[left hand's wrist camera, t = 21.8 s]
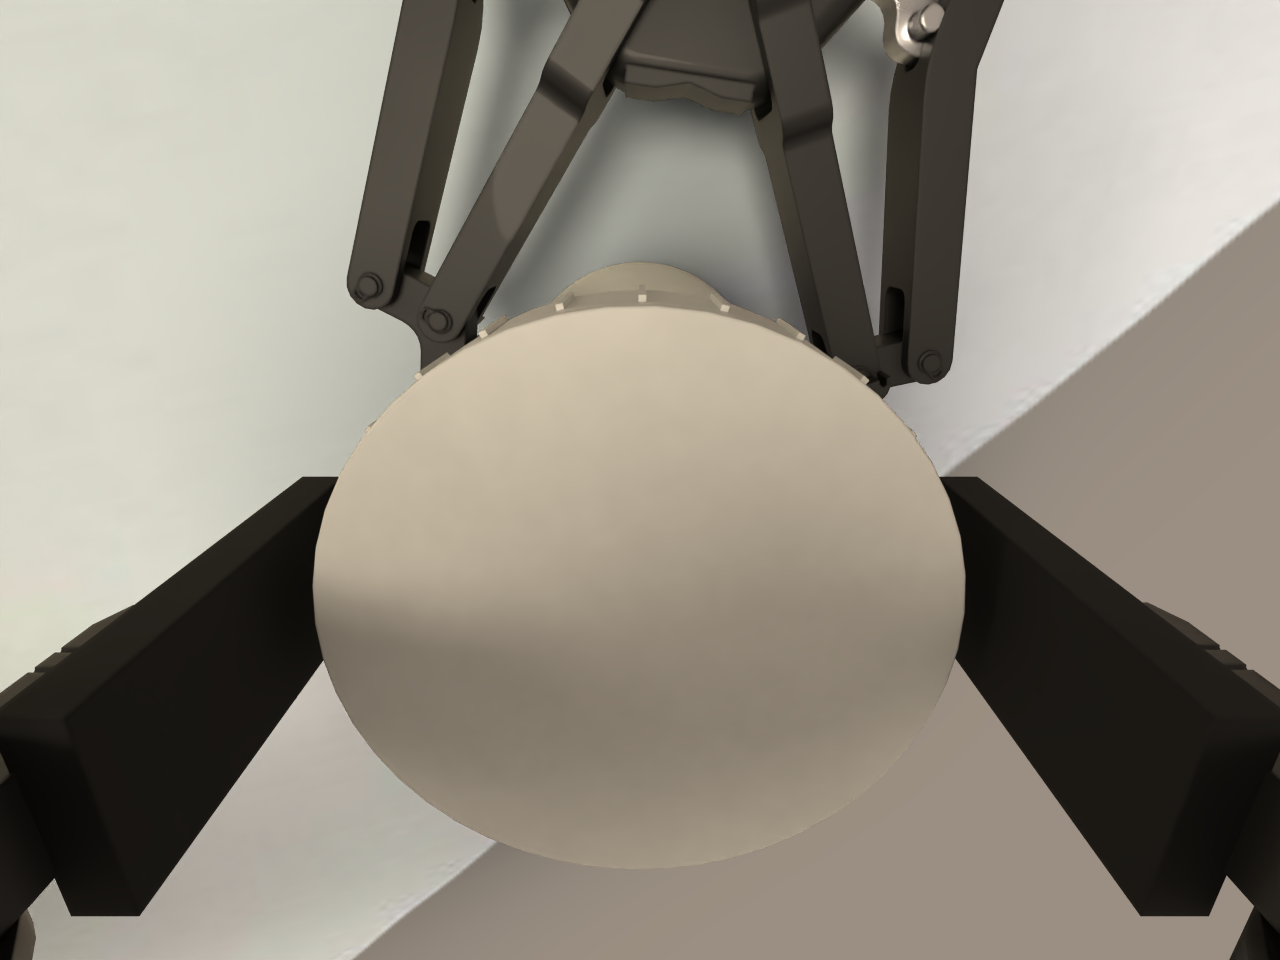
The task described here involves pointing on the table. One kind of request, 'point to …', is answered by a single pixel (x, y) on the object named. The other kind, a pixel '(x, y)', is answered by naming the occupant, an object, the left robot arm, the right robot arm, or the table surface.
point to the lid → (639, 582)
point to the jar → (639, 280)
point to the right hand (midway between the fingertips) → (620, 563)
